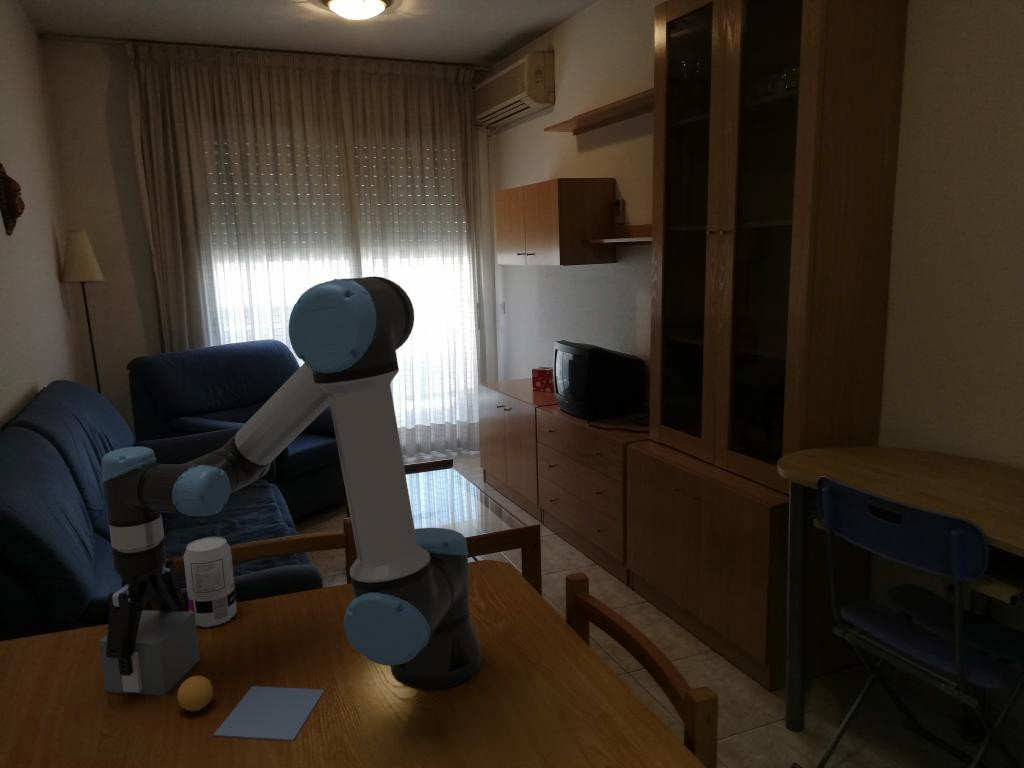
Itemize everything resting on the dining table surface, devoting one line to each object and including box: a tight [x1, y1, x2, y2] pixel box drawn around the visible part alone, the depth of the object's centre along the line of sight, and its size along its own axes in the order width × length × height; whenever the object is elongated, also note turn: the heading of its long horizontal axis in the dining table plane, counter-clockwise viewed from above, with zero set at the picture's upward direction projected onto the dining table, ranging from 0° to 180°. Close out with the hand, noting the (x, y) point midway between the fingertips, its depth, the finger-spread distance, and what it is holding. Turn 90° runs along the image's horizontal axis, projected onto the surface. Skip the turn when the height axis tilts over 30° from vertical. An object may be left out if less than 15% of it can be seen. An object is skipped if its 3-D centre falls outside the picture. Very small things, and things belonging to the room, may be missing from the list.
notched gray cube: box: [98, 609, 201, 696], centre depth 120 cm, size 10×10×9 cm
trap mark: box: [213, 685, 326, 742], centre depth 110 cm, size 12×12×1 cm
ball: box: [176, 675, 214, 712], centre depth 112 cm, size 5×5×5 cm
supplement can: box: [183, 536, 238, 628], centre depth 138 cm, size 8×8×15 cm
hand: (153, 670), depth 121 cm, fingers closed on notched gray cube, 10 cm apart
